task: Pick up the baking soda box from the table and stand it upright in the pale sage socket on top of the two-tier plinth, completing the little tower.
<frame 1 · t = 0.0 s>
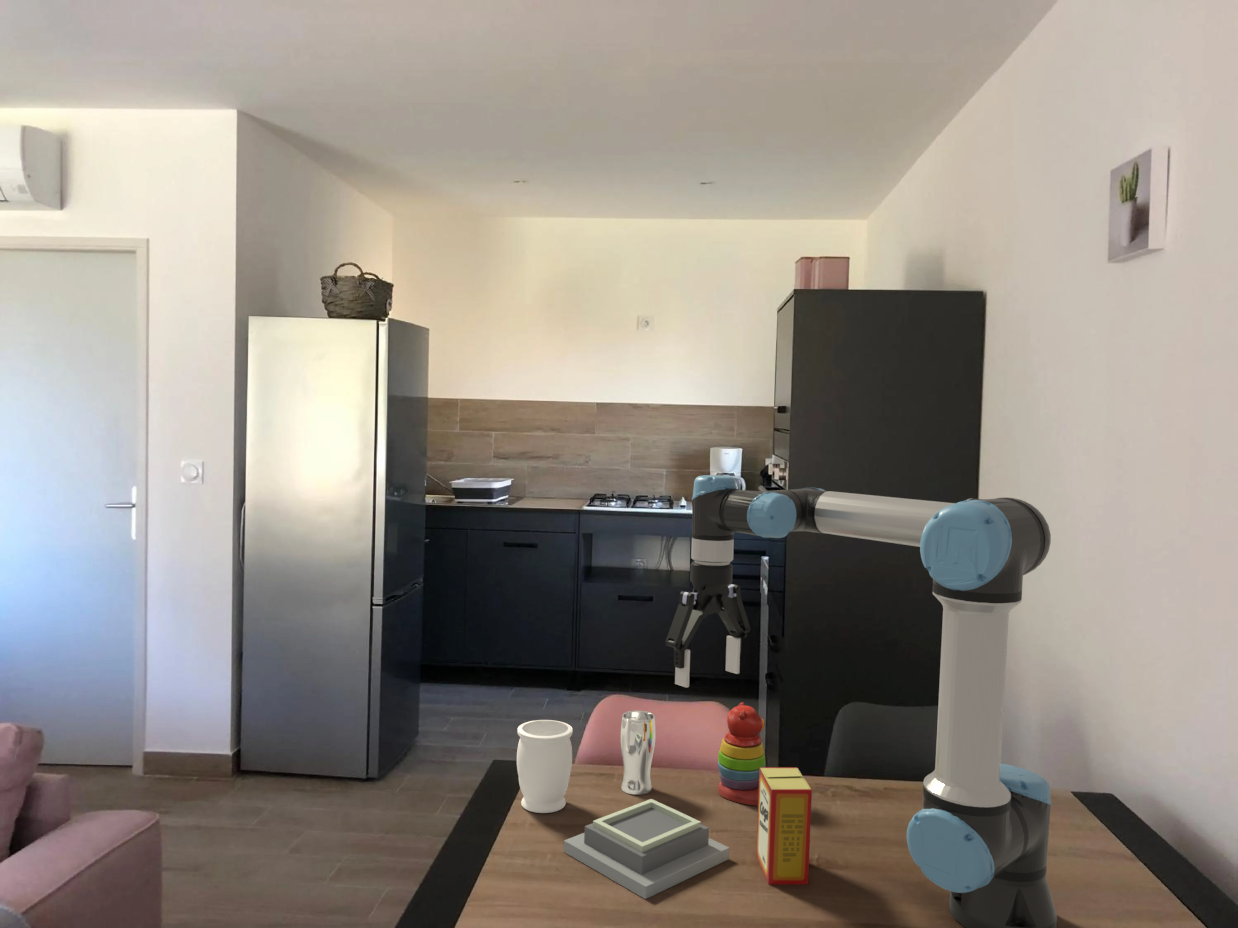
hand: (707, 678, 166), 28 cm above the table, tool pointing down, fingers open, 13 cm apart
plinth: (646, 855, 157), on the table
baking soda box: (781, 870, 154), on the table
stacking bear: (742, 794, 184), on the table
jar: (543, 805, 176), on the table
beer glass: (636, 789, 185), on the table
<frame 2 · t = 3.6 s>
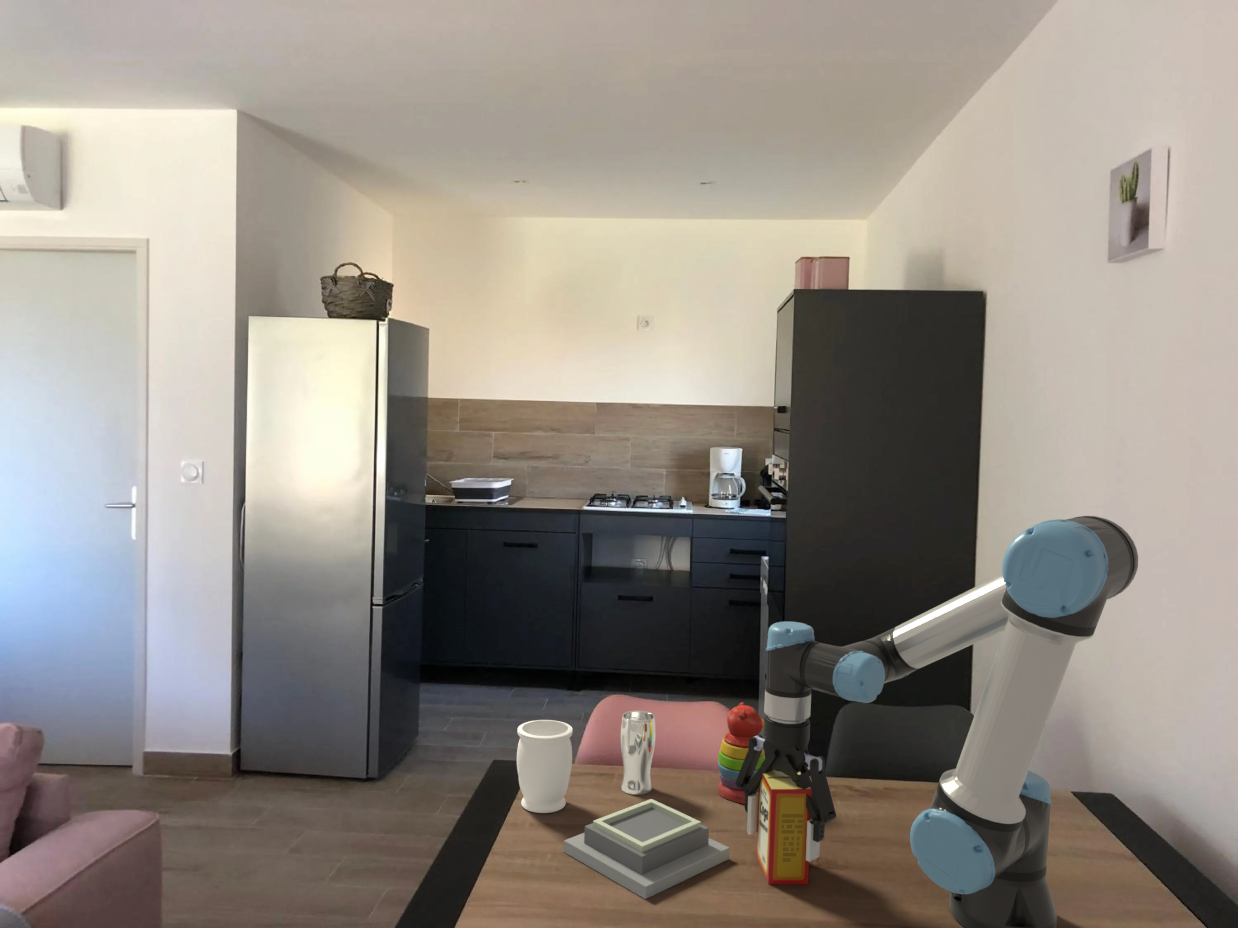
hand: (782, 844, 153), 4 cm above the table, tool pointing down, fingers closed on baking soda box, 11 cm apart
baking soda box: (781, 870, 154), on the table, touching gripper
everything else where it was.
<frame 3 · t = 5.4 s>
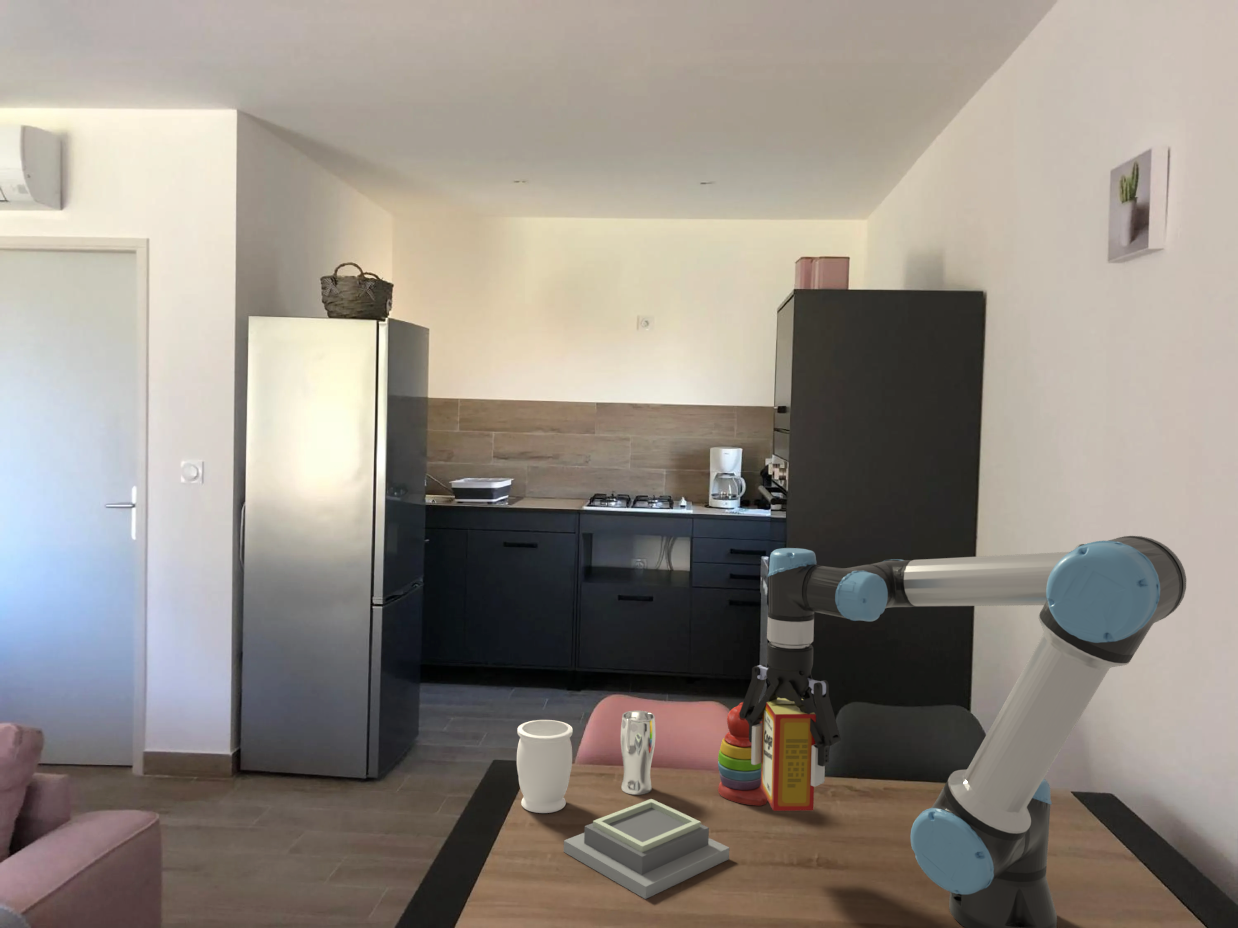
hand: (786, 772, 152), 17 cm above the table, tool pointing down, fingers closed on baking soda box, 11 cm apart
baking soda box: (786, 799, 153), point 12 cm above the table, touching gripper
everything else where it was.
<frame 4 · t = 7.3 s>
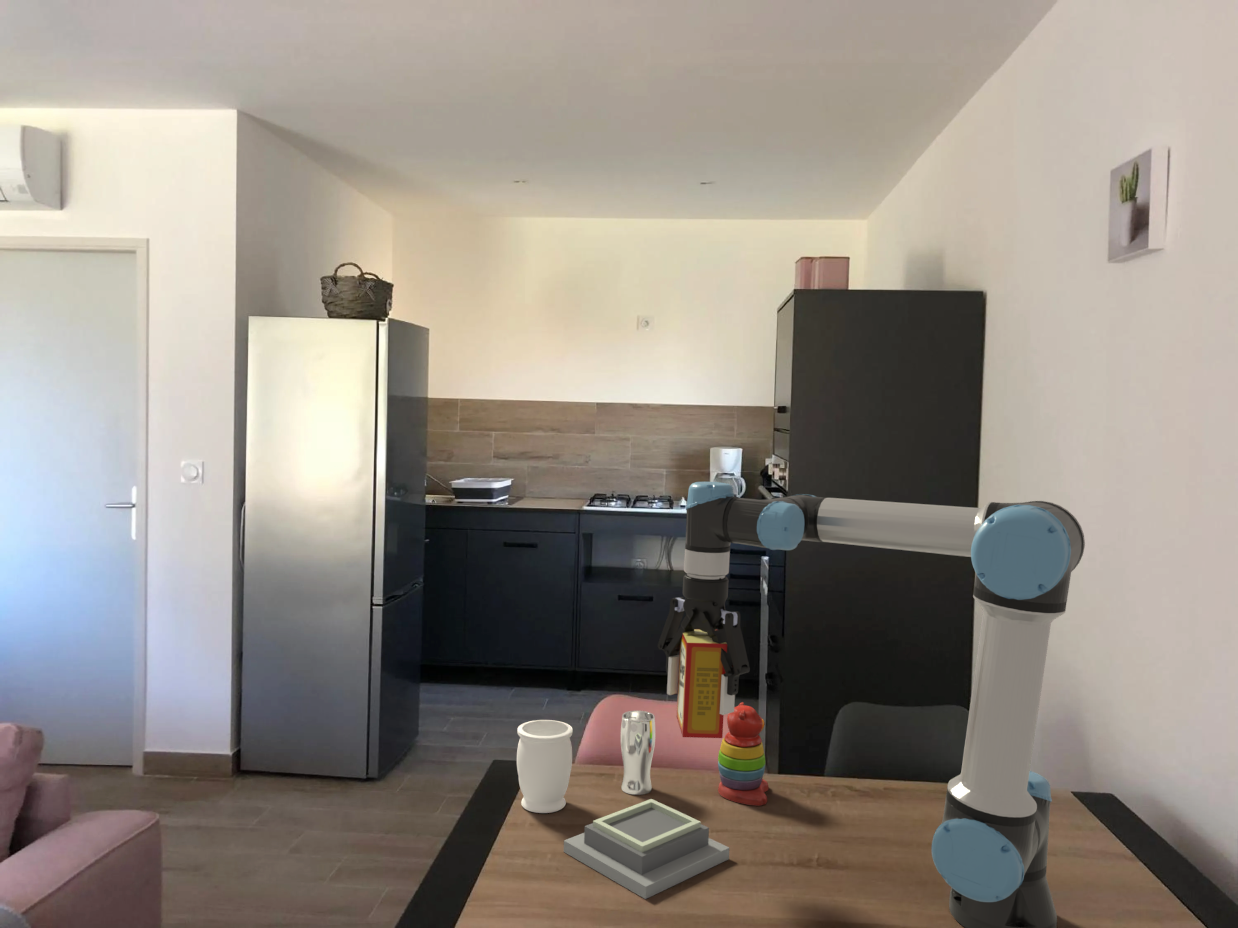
hand: (699, 702, 155), 27 cm above the table, tool pointing down, fingers closed on baking soda box, 11 cm apart
baking soda box: (698, 728, 155), point 23 cm above the table, touching gripper
everything else where it was.
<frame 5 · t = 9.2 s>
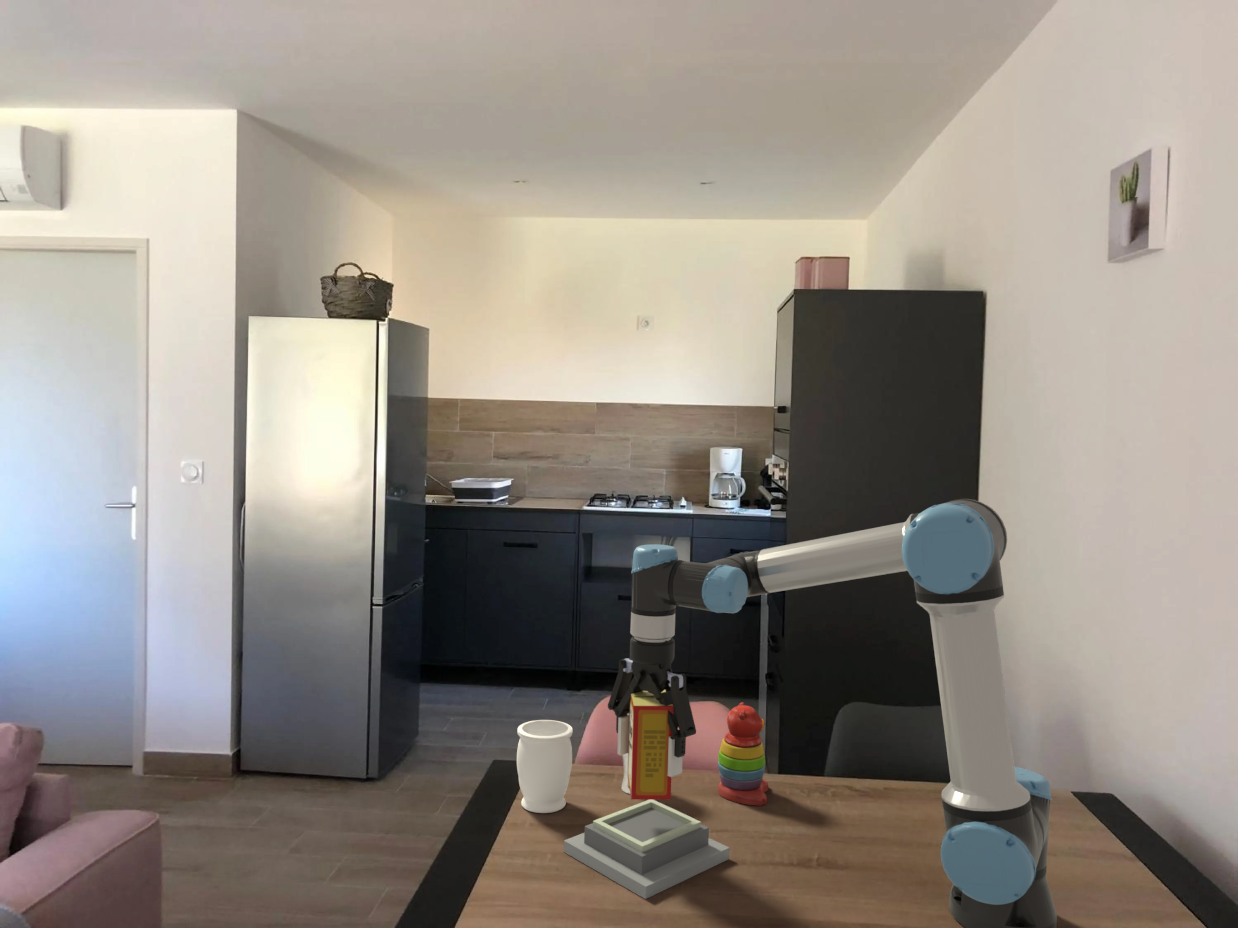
hand: (649, 763, 156), 16 cm above the table, tool pointing down, fingers closed on baking soda box, 11 cm apart
baking soda box: (648, 788, 157), point 12 cm above the table, touching gripper
everything else where it was.
when the fingers open (11 cm above the table, at t = 11.0 s): baking soda box stays where it is, resting on plinth.
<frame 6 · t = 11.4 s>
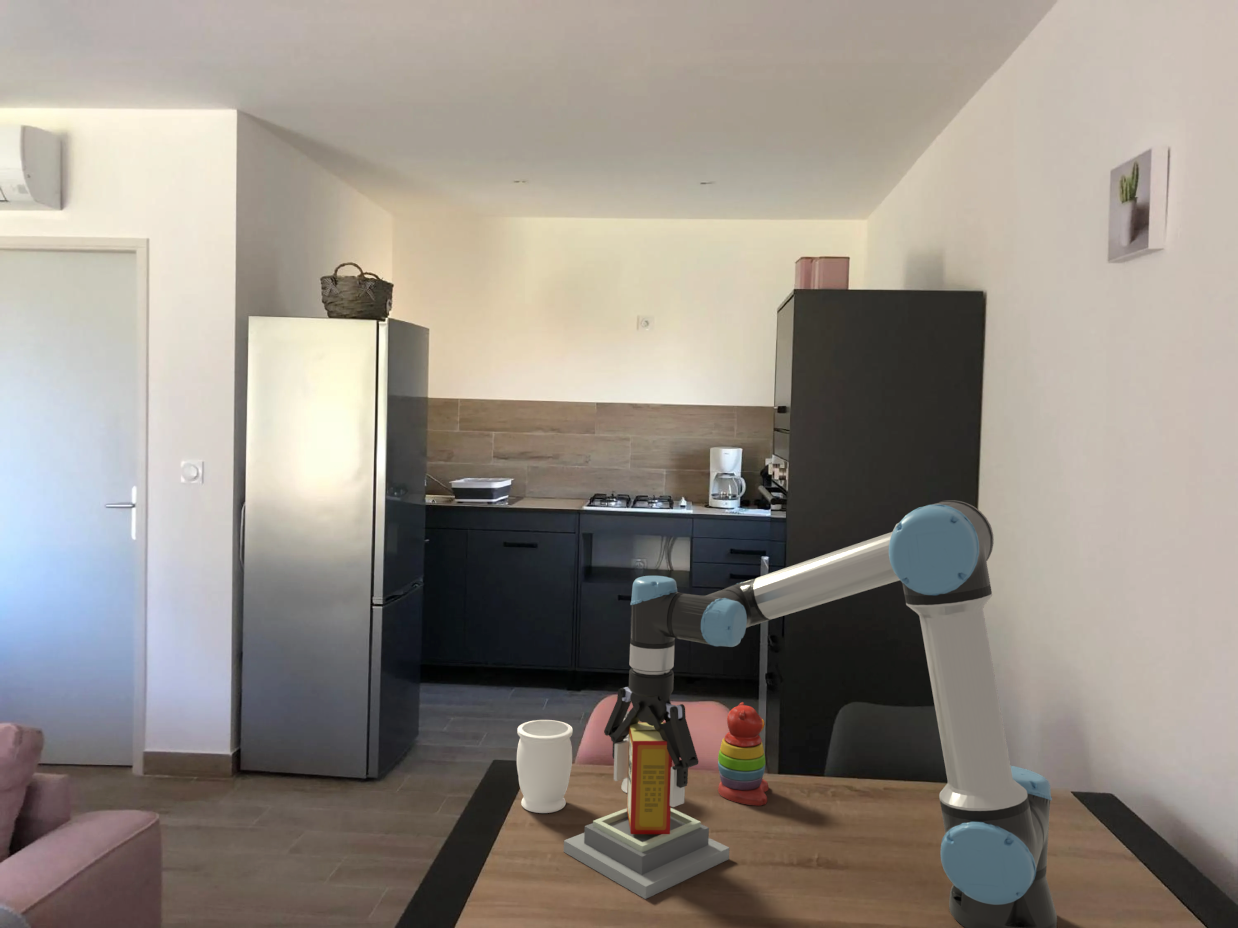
hand: (647, 791, 157), 11 cm above the table, tool pointing down, fingers open, 13 cm apart
baking soda box: (647, 822, 157), point 6 cm above the table, touching plinth
everything else where it was.
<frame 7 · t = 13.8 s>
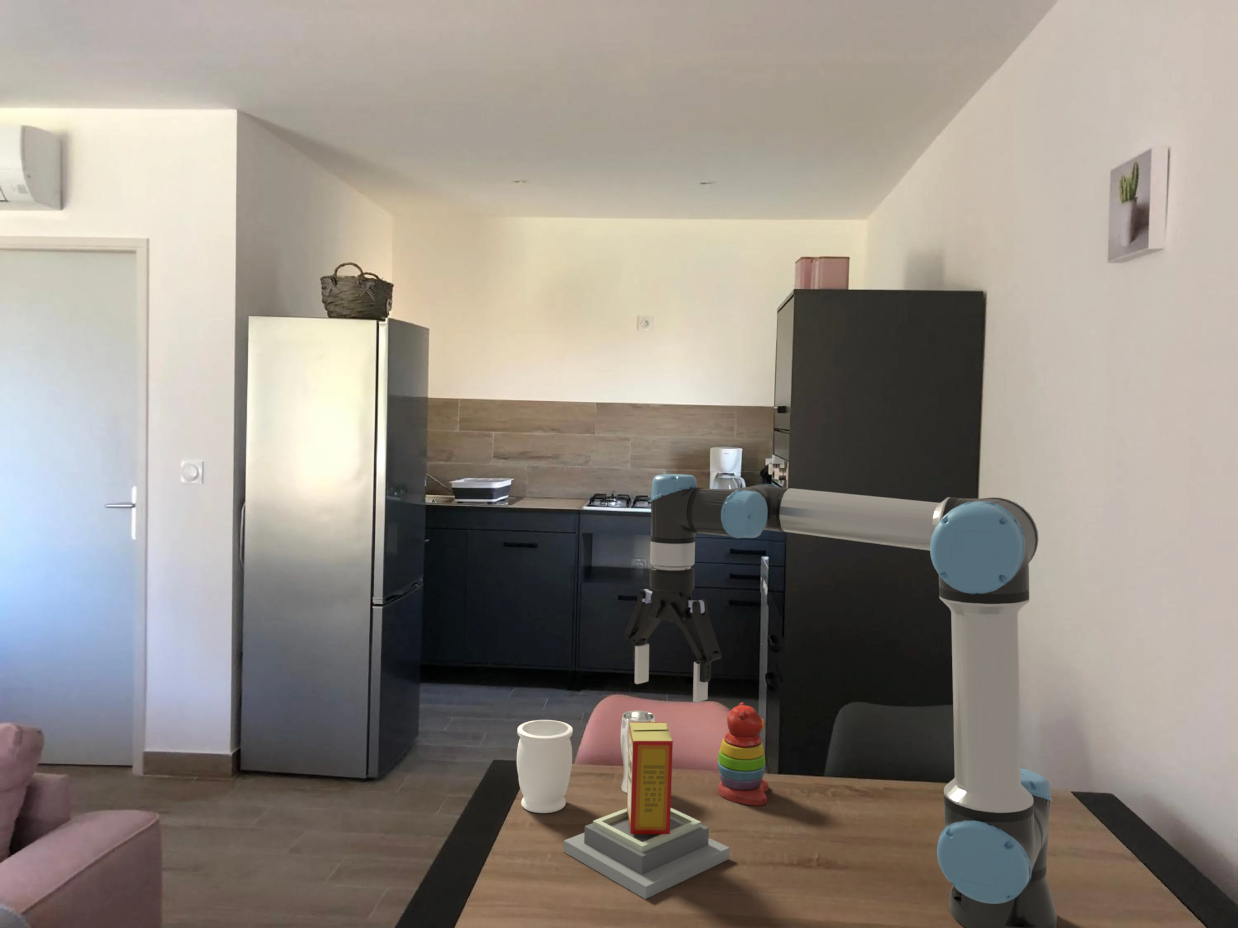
hand: (670, 691, 155), 29 cm above the table, tool pointing down, fingers open, 13 cm apart
nothing on the table moved.
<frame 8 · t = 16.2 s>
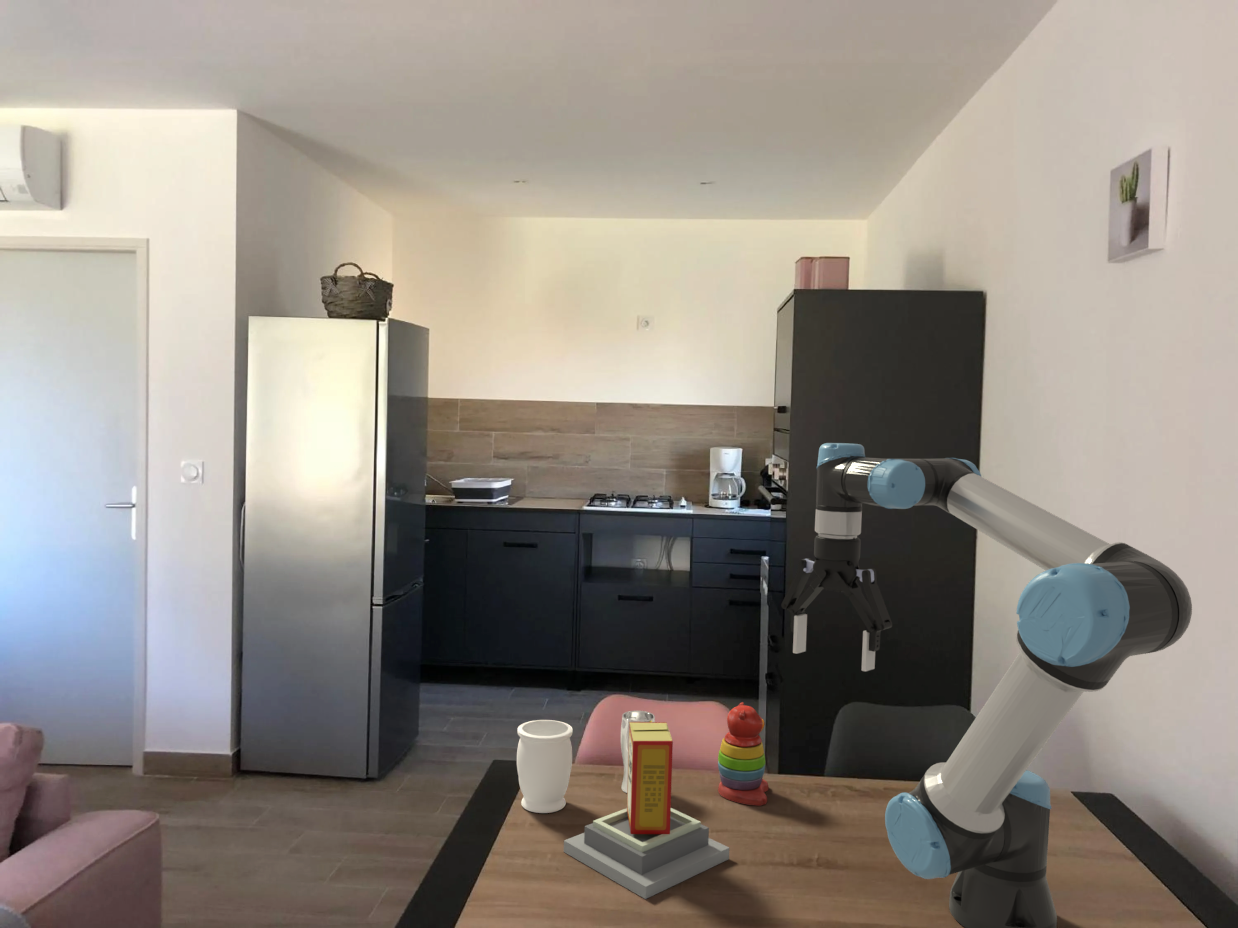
hand: (832, 660, 155), 35 cm above the table, tool pointing down, fingers open, 13 cm apart
nothing on the table moved.
at the end: baking soda box 0.1 cm off-centre on the plinth, point 5.8 cm above the plinth's base; baking soda box tilted 0°; the gripper is holding nothing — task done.
